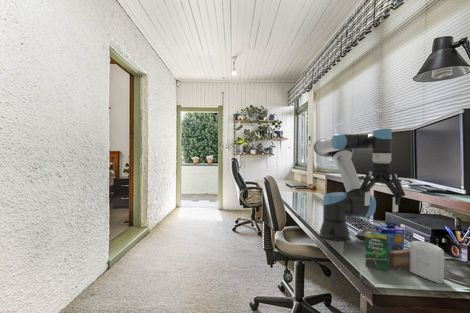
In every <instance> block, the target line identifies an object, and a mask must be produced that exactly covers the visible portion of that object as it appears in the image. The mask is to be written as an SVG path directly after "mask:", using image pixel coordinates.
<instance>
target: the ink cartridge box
mask: <svg viewBox="0 0 470 313" xmlns="http://www.w3.org/2000/svg"><path fill="white" fill-rule="evenodd" d="M375 233H379V234H387V235H388V255H389V252H391V251H398V250H405V229H404V228H402V227H400V226H397V223H396V222H387V224H386V225H376V226H375Z"/></svg>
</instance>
